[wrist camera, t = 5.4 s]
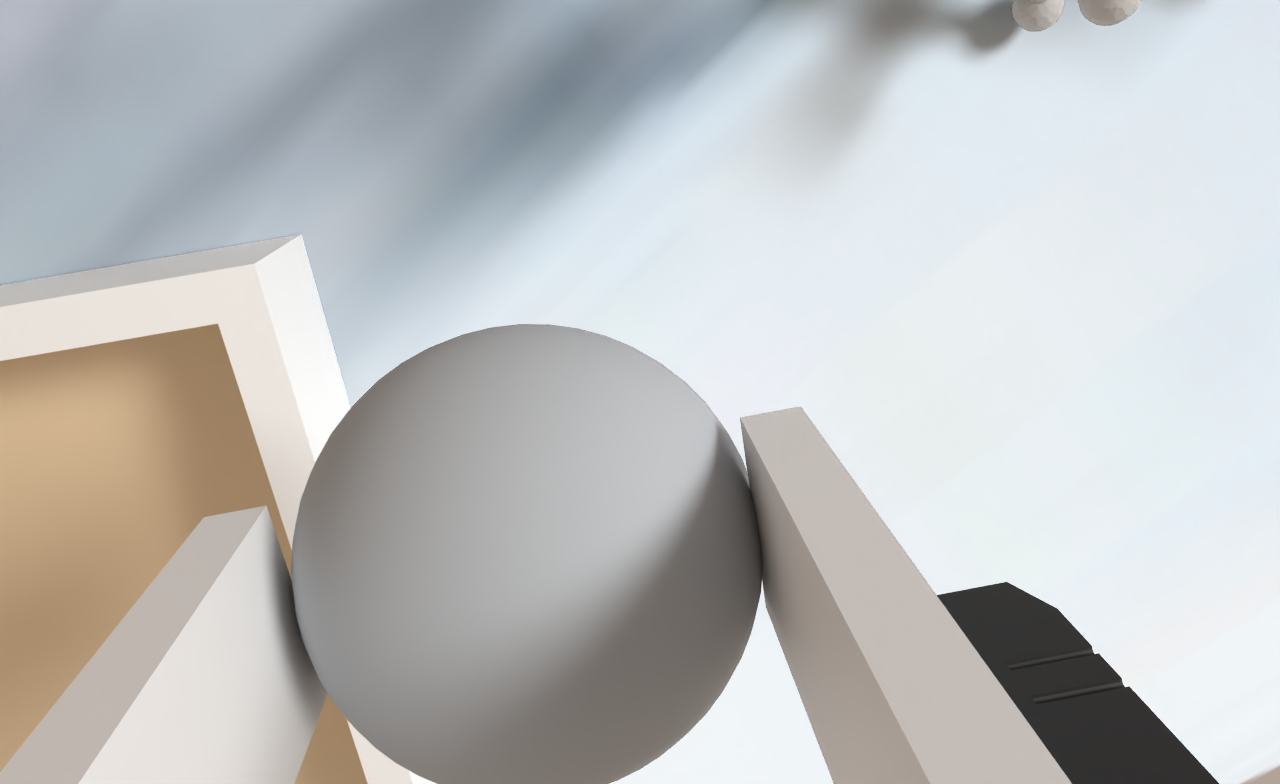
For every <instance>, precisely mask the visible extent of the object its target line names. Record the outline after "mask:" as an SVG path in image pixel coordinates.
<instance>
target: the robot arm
mask: <svg viewBox="0 0 1280 784" xmlns="http://www.w3.org/2000/svg"><path fill="white" fill-rule="evenodd" d="M740 421H741V428H742V435H743V443H744V450H745V457H746V464H747V472H748V479H749V486H750V492H751V496H752V500H753V505H754V509H755V513H756V519H757V525H758V531H759V537H760V544H761V553H762V563H763V571H762V581H763V588H764V596H765V603H766V608H767V611H768V613H769V616H770V619H771V621H772V624H773V626H774V629H775V632H776V634H777V637H778V639H779V642H780V645H781V647H782V650H783V652H784V655H785V658H786V660H787V663H788V665H789V668H790V671H791V673H792V676H793V678H794V681H795V684H796V686H797V689H798V691H799V694H800V697H801V699H802V702H803V704H804V707H805V710H806V712H807V715H808V717H809V720H810V723H811V725H812V728H813V730H814V733H815V736H816V738H817V741H818V744H819V746H820V749H821V751H822V754H823V757H824V759H825V762H826V764H827V767H828V770H829V772H830V775H831V777H832V780H833V783H834V784H1219V783H1218V782H1217V781H1216V780H1215V779H1214V778H1213V776H1212V775H1211V774H1210V773H1209V772H1208V771H1207V770H1206V769H1205V768H1204V767H1203V766H1202V765H1201V763H1200V762H1199V761H1198V760H1197V759H1196V758H1195V757H1194V756H1193V755H1192V754H1191V753H1190V752H1189V751H1188V749H1187V748H1186V747H1185V746H1184V745H1183V744H1182V743H1181V742H1180V741H1179V740H1178V739H1177V738H1176V736H1175V735H1174V734H1173V733H1172V732H1171V731H1170V730H1169V729H1168V728H1167V727H1166V726H1165V725H1164V724H1163V722H1162V721H1161V720H1160V719H1159V718H1158V717H1157V716H1156V715H1155V714H1154V713H1153V712H1152V711H1151V709H1150V708H1149V707H1148V706H1147V705H1146V704H1145V703H1144V702H1143V701H1142V700H1141V699H1140V698H1139V697H1138V695H1137V694H1136V693H1135V692H1134V691H1133V690H1132V689H1131V688H1130V687H1124V685H1123V683H1122V678H1121V677H1120V676H1119V675H1118V674H1117V673H1116V672H1115V671H1114V670H1113V668H1112V667H1111V666H1110V665H1109V664H1108V663H1107V662H1106V661H1105V660H1104V659H1103V658H1102V657H1101V656H1100V654H1094V653H1093V650H1092V646H1091V645H1090V644H1089V643H1088V641H1087V640H1086V639H1085V638H1084V637H1083V636H1082V635H1081V634H1080V633H1079V632H1078V631H1077V630H1076V629H1075V627H1074V626H1073V625H1072V624H1071V623H1070V622H1069V621H1068V620H1067V619H1066V618H1065V617H1064V616H1063V614H1062V613H1061V612H1060V611H1059V610H1058V609H1057V608H1055V607H1053V606H1051V605H1049V604H1047V603H1045V602H1043V601H1042V600H1040V599H1038V598H1036V597H1034V596H1032V595H1030V594H1028V593H1026V592H1025V591H1023V590H1021V589H1019V588H1017V587H1015V586H1013V585H1011V584H1009V583H1008V582H1004V583H999V584H994V585H988V586H983V587H978V588H973V589H967V590H962V591H957V592H952V593H946V594H941V595H936V594H935V592H934V591H933V590H932V588H931V587H930V585H929V584H928V583H927V581H926V580H925V578H924V577H923V576H922V574H921V573H920V572H919V570H918V569H917V567H916V566H915V565H914V563H913V562H912V560H911V559H910V558H909V556H908V555H907V553H906V552H905V551H904V549H903V548H902V547H901V545H900V544H899V542H898V541H897V540H896V538H895V537H894V535H893V534H892V533H891V531H890V530H889V528H888V527H887V526H886V524H885V523H884V521H883V520H882V519H881V517H880V516H879V515H878V513H877V512H876V510H875V509H874V508H873V506H872V505H871V503H870V502H869V501H868V499H867V498H866V496H865V495H864V494H863V492H862V491H861V490H860V488H859V487H858V485H857V484H856V483H855V481H854V480H853V478H852V477H851V476H850V474H849V473H848V471H847V470H846V469H845V467H844V466H843V464H842V463H841V462H840V460H839V459H838V458H837V456H836V455H835V453H834V452H833V451H832V449H831V448H830V446H829V445H828V444H827V442H826V441H825V439H824V438H823V437H822V435H821V434H820V433H819V431H818V430H817V428H816V427H815V426H814V424H813V423H812V421H811V420H810V419H809V417H808V416H807V414H806V413H805V412H804V410H803V409H802V407H795V408H790V409H785V410H779V411H774V412H768V413H763V414H758V415H752V416H747V417H741V418H740ZM327 695H328V693H327V691H326V690H325V688H324V686H323V685H322V683H321V681H320V680H319V678H318V675H317V673H316V671H315V669H314V666H313V664H312V662H311V659H310V657H309V655H308V652H307V650H306V647H305V645H304V643H303V640H302V636H301V633H300V629H299V625H298V621H297V617H296V612H295V604H294V595H293V585H292V580H291V577H290V574H289V571H288V568H287V565H286V562H285V559H284V556H283V553H282V550H281V547H280V544H279V541H278V538H277V535H276V532H275V529H274V526H273V523H272V521H271V518H270V515H269V512H268V509H267V506H261V507H256V508H251V509H245V510H240V511H235V512H229V513H224V514H218V515H213V516H208V517H204V518H203V519H202V520H201V522H200V523H199V524H198V525H197V527H196V528H195V529H194V530H193V532H192V533H191V534H190V535H189V537H188V538H187V539H186V540H185V542H184V543H183V544H182V545H181V547H180V548H179V549H178V550H177V552H176V553H175V554H174V555H173V557H172V558H171V559H170V560H169V562H168V563H167V564H166V565H165V567H164V568H163V569H162V570H161V572H160V573H159V574H158V575H157V577H156V578H155V579H154V580H153V582H152V583H151V584H150V585H149V587H148V588H147V589H146V590H145V592H144V593H143V594H142V595H141V597H140V598H139V599H138V600H137V602H136V603H135V604H134V605H133V607H132V608H131V609H130V610H129V612H128V613H127V614H126V615H125V617H124V618H123V619H122V620H121V622H120V623H119V624H118V625H117V627H116V628H115V629H114V630H113V632H112V633H111V634H110V635H109V637H108V638H107V639H106V640H105V642H104V643H103V644H102V645H101V647H100V648H99V649H98V650H97V652H96V653H95V654H94V655H93V657H92V658H91V659H90V660H89V662H88V663H87V664H86V665H85V667H84V668H83V669H82V670H81V672H80V673H79V674H78V675H77V677H76V678H75V679H74V680H73V682H72V683H71V684H70V685H69V687H68V688H67V689H66V690H65V692H64V693H63V694H62V695H61V697H60V698H59V699H58V700H57V702H56V703H55V704H54V705H53V707H52V708H51V709H50V710H49V712H48V713H47V714H46V715H45V717H44V718H43V719H42V721H41V722H40V723H39V724H38V726H37V727H36V728H35V729H34V731H33V732H32V733H31V734H30V736H29V737H28V738H27V739H26V741H25V742H24V743H23V744H22V746H21V747H20V748H19V749H18V751H17V752H16V753H15V754H14V756H13V757H12V758H11V759H10V761H9V762H8V763H7V764H6V766H5V767H4V768H3V769H2V771H1V772H0V784H294V783H295V780H296V778H297V775H298V772H299V770H300V767H301V764H302V762H303V759H304V756H305V754H306V751H307V748H308V746H309V743H310V740H311V738H312V735H313V732H314V729H315V727H316V724H317V721H318V719H319V716H320V713H321V711H322V708H323V705H324V703H325V700H326V697H327Z"/></svg>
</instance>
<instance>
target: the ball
mask: <svg viewBox="0 0 1280 784" xmlns="http://www.w3.org/2000/svg"><path fill="white" fill-rule="evenodd" d="M762 571H763V563H762V553H761V544H760V537H759V531H758V525H757V519H756V513H755V509H754V505H753V500H752V496H751V492H750V486H749V479H748V474H747V471H746V468H745V466H744V463H743V460H742V458H741V456H740V454H739V452H738V451H737V449H736V447H735V445H734V443H733V441H732V440H731V438H730V436H729V434H728V433H727V431H726V430H725V428H724V427H723V425H722V424H721V422H720V421H719V420H718V418H717V417H716V416H715V414H714V413H713V412H712V410H711V409H710V408H709V406H708V405H707V404H706V402H705V401H704V400H703V399H702V398H701V397H700V396H699V395H698V394H697V393H696V392H695V391H694V390H693V389H692V388H691V387H690V386H689V385H688V384H687V383H686V382H685V381H683V380H682V379H681V378H679V377H678V376H677V375H675V374H674V373H673V372H671V371H670V370H669V369H668V368H666V367H665V366H664V365H662V364H661V363H659V362H657V361H656V360H654V359H652V358H651V357H649V356H647V355H645V354H644V353H642V352H640V351H638V350H637V349H635V348H633V347H631V346H629V345H626V344H624V343H621V342H619V341H617V340H614V339H612V338H609V337H607V336H604V335H600V334H596V333H593V332H589V331H585V330H581V329H577V328H570V327H563V326H556V325H536V324H518V325H510V326H501V327H493V328H488V329H484V330H480V331H476V332H472V333H468V334H464V335H461V336H458V337H456V338H453V339H450V340H448V341H445V342H443V343H440V344H438V345H435V346H433V347H430V348H428V349H426V350H424V351H423V352H421V353H419V354H417V355H415V356H414V357H412V358H410V359H408V360H406V361H405V362H403V363H401V364H400V365H399V366H397V367H396V368H395V369H393V370H392V371H390V372H389V373H388V374H386V375H385V376H384V377H382V378H381V379H380V380H378V381H377V382H376V383H375V384H374V385H373V386H372V387H371V388H370V389H369V390H368V391H367V392H366V393H365V394H364V395H363V396H362V397H361V398H360V399H359V400H358V401H357V402H356V403H355V404H354V405H353V406H352V407H351V408H350V410H349V411H348V412H347V413H346V415H345V416H344V417H343V419H342V420H341V421H340V423H339V424H338V425H337V427H336V428H335V429H334V430H333V432H332V433H331V435H330V436H329V438H328V440H327V442H326V444H325V446H324V447H323V449H322V451H321V453H320V455H319V456H318V458H317V460H316V462H315V464H314V467H313V469H312V471H311V473H310V476H309V478H308V481H307V484H306V486H305V489H304V492H303V495H302V497H301V500H300V505H299V510H298V515H297V520H296V525H295V530H294V536H293V543H292V562H291V576H292V585H293V595H294V604H295V612H296V617H297V621H298V625H299V629H300V633H301V636H302V640H303V643H304V645H305V647H306V650H307V652H308V655H309V657H310V659H311V662H312V664H313V666H314V669H315V671H316V673H317V675H318V678H319V680H320V681H321V683H322V685H323V686H324V688H325V690H326V691H327V693H328V695H329V696H330V698H331V700H332V701H333V703H334V704H335V705H336V706H337V708H338V709H339V710H340V711H341V712H342V714H343V715H344V716H345V717H346V719H347V720H348V721H349V722H350V723H351V724H352V725H353V727H354V728H355V729H356V730H357V731H358V732H359V733H360V734H361V735H362V736H363V737H364V738H366V739H367V740H368V741H369V742H370V743H371V744H372V745H373V746H374V747H375V748H376V749H377V750H379V751H380V752H382V753H383V754H384V755H386V756H387V757H388V758H390V759H391V760H392V761H394V762H395V763H397V764H398V765H400V766H402V767H404V768H405V769H407V770H409V771H411V772H412V773H414V774H416V775H418V776H420V777H422V778H425V779H427V780H429V781H432V782H434V783H437V784H609V783H612V782H614V781H617V780H619V779H621V778H623V777H625V776H627V775H629V774H631V773H633V772H635V771H637V770H639V769H641V768H643V767H644V766H646V765H647V764H649V763H650V762H652V761H653V760H655V759H657V758H658V757H660V756H661V755H662V754H664V753H665V752H666V751H667V750H668V749H670V748H671V747H672V746H673V745H674V744H676V743H677V742H678V741H679V740H680V739H682V738H683V737H684V736H685V735H686V734H687V733H688V732H689V731H690V730H691V729H692V728H693V727H694V726H695V725H696V724H697V723H698V722H699V721H700V720H701V719H702V718H703V717H704V716H705V715H706V713H707V712H708V711H709V709H710V708H711V707H712V705H713V704H714V703H715V701H716V700H717V699H718V697H719V696H720V694H721V693H722V691H723V690H724V688H725V686H726V685H727V683H728V681H729V680H730V678H731V676H732V674H733V672H734V670H735V669H736V667H737V665H738V663H739V661H740V659H741V658H742V655H743V653H744V650H745V647H746V645H747V642H748V639H749V637H750V634H751V631H752V627H753V623H754V620H755V615H756V611H757V607H758V602H759V598H760V593H761V583H762Z"/></svg>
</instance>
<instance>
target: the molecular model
mask: <svg viewBox="0 0 1280 784" xmlns="http://www.w3.org/2000/svg"><path fill="white" fill-rule="evenodd" d="M1140 1H1141V0H1078V3H1079V7H1080V11H1081V13H1082V14H1083V15H1084V17H1085V18H1086V19H1088V20H1089V21H1090V22H1092V23H1094V24H1096V25H1103V26H1107V25H1113V24H1117V23H1119V22H1121V21H1123V20H1125V19H1126V18H1128V17H1129V16H1130V15H1131V14H1133V13H1134V11H1135V10H1136V8H1137V7H1138V5H1139V3H1140ZM1063 8H1064V0H1014V2H1013V5H1012V13H1013V17H1014V20H1015V21H1016V23H1017V24H1018V25H1019V26H1020V27H1022V28H1023V29H1025V30H1027V31H1033V32H1034V31H1041V30H1044V29H1046V28H1048V27H1050V26H1052V25H1053V24H1054V23H1055V22H1056V21H1057V20H1058V19H1059V17H1060V15H1061V14H1062V11H1063Z"/></svg>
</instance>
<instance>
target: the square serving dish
mask: <svg viewBox="0 0 1280 784" xmlns="http://www.w3.org/2000/svg"><path fill="white" fill-rule="evenodd" d="M350 408H351V407H350V404H349V400H348V397H347V393H346V390H345V386H344V383H343V379H342V375H341V372H340V368H339V365H338V361H337V358H336V354H335V351H334V347H333V344H332V340H331V337H330V333H329V330H328V326H327V323H326V319H325V315H324V312H323V308H322V305H321V301H320V298H319V294H318V291H317V287H316V284H315V280H314V277H313V273H312V270H311V266H310V263H309V259H308V255H307V252H306V248H305V245H304V241H303V238H302V234H299V235H293V236H287V237H281V238H276V239H270V240H264V241H258V242H252V243H246V244H240V245H234V246H228V247H223V248H217V249H211V250H205V251H199V252H193V253H187V254H181V255H175V256H170V257H164V258H158V259H152V260H146V261H140V262H134V263H128V264H123V265H117V266H111V267H105V268H99V269H93V270H87V271H81V272H75V273H70V274H64V275H58V276H52V277H46V278H40V279H34V280H28V281H22V282H17V283H11V284H5V285H0V772H1V771H2V769H3V768H4V767H5V766H6V764H7V763H8V762H9V761H10V759H11V758H12V757H13V756H14V754H15V753H16V752H17V751H18V749H19V748H20V747H21V746H22V744H23V743H24V742H25V741H26V739H27V738H28V737H29V736H30V734H31V733H32V732H33V731H34V729H35V728H36V727H37V726H38V724H39V723H40V722H41V721H42V719H43V718H44V717H45V715H46V714H47V713H48V712H49V710H50V709H51V708H52V707H53V705H54V704H55V703H56V702H57V700H58V699H59V698H60V697H61V695H62V694H63V693H64V692H65V690H66V689H67V688H68V687H69V685H70V684H71V683H72V682H73V680H74V679H75V678H76V677H77V675H78V674H79V673H80V672H81V670H82V669H83V668H84V667H85V665H86V664H87V663H88V662H89V660H90V659H91V658H92V657H93V655H94V654H95V653H96V652H97V650H98V649H99V648H100V647H101V645H102V644H103V643H104V642H105V640H106V639H107V638H108V637H109V635H110V634H111V633H112V632H113V630H114V629H115V628H116V627H117V625H118V624H119V623H120V622H121V620H122V619H123V618H124V617H125V615H126V614H127V613H128V612H129V610H130V609H131V608H132V607H133V605H134V604H135V603H136V602H137V600H138V599H139V598H140V597H141V595H142V594H143V593H144V592H145V590H146V589H147V588H148V587H149V585H150V584H151V583H152V582H153V580H154V579H155V578H156V577H157V575H158V574H159V573H160V572H161V570H162V569H163V568H164V567H165V565H166V564H167V563H168V562H169V560H170V559H171V558H172V557H173V555H174V554H175V553H176V552H177V550H178V549H179V548H180V547H181V545H182V544H183V543H184V542H185V540H186V539H187V538H188V537H189V535H190V534H191V533H192V532H193V530H194V529H195V528H196V527H197V525H198V524H199V523H200V522H201V520H202V519H203V518H204V517H208V516H213V515H218V514H224V513H229V512H235V511H240V510H245V509H251V508H256V507H261V506H267V509H268V512H269V515H270V518H271V521H272V523H273V526H274V529H275V532H276V535H277V538H278V541H279V544H280V547H281V550H282V553H283V556H284V559H285V562H286V565H287V568H288V571H289V574H290V577H291V580H292V576H291V562H292V543H293V536H294V530H295V525H296V520H297V515H298V510H299V505H300V500H301V497H302V495H303V492H304V489H305V486H306V484H307V481H308V478H309V476H310V473H311V471H312V469H313V467H314V464H315V462H316V460H317V458H318V456H319V455H320V453H321V451H322V449H323V447H324V446H325V444H326V442H327V440H328V438H329V436H330V435H331V433H332V432H333V430H334V429H335V428H336V427H337V425H338V424H339V423H340V421H341V420H342V419H343V417H344V416H345V415H346V413H347V412H348V411H349V410H350ZM294 784H437V783H434V782H432V781H429V780H427V779H425V778H422V777H420V776H418V775H416V774H414V773H412V772H411V771H409V770H407V769H405V768H404V767H402V766H400V765H398V764H397V763H395V762H394V761H392V760H391V759H390V758H388V757H387V756H386V755H384V754H383V753H382V752H380V751H379V750H377V749H376V748H375V747H374V746H373V745H372V744H371V743H370V742H369V741H368V740H367V739H366V738H364V737H363V736H362V735H361V734H360V733H359V732H358V731H357V730H356V729H355V728H354V727H353V725H352V724H351V723H350V722H349V721H348V720H347V719H346V717H345V716H344V715H343V714H342V712H341V711H340V710H339V709H338V708H337V706H336V705H335V704H334V703H333V701H332V700H331V698H330V696H329V695H327V697H326V700H325V703H324V705H323V708H322V711H321V713H320V716H319V719H318V721H317V724H316V727H315V729H314V732H313V735H312V738H311V740H310V743H309V746H308V748H307V751H306V754H305V756H304V759H303V762H302V764H301V767H300V770H299V772H298V775H297V778H296V780H295V783H294Z"/></svg>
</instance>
